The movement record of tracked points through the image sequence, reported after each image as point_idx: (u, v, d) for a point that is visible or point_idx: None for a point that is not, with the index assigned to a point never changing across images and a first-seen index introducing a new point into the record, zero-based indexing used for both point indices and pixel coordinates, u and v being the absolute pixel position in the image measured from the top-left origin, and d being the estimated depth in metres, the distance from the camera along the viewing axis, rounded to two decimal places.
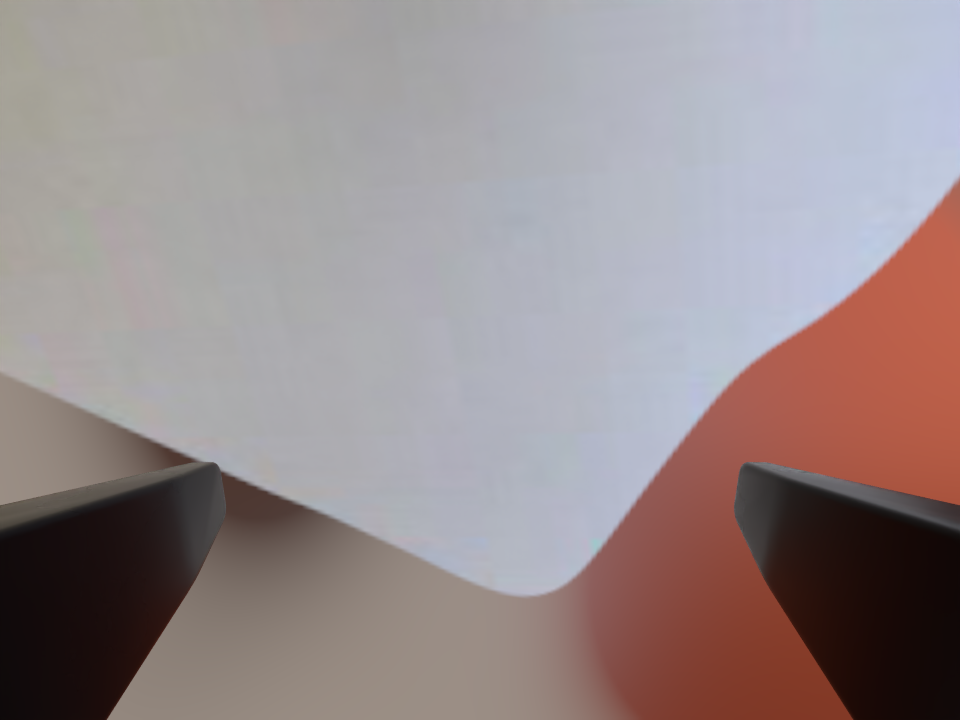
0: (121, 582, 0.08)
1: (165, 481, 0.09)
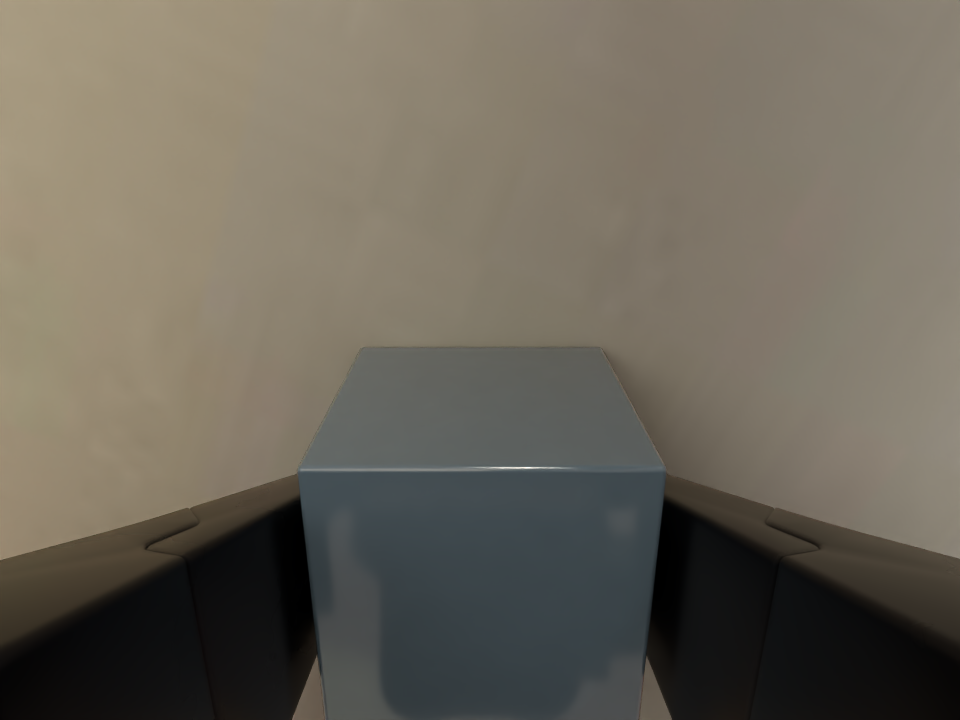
0: (303, 582, 0.08)
1: None
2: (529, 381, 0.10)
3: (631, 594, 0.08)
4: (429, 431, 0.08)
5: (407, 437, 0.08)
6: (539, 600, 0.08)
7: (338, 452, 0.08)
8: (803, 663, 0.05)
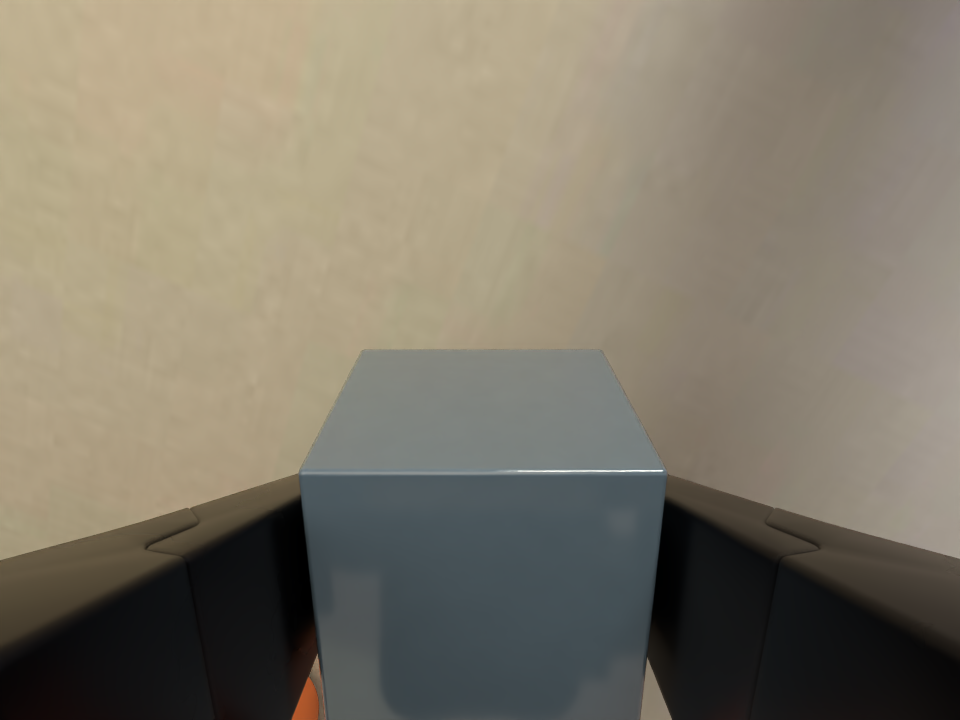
0: (303, 582, 0.08)
1: None
2: (530, 384, 0.10)
3: (632, 597, 0.08)
4: (429, 435, 0.08)
5: (408, 440, 0.08)
6: (539, 603, 0.08)
7: (339, 456, 0.08)
8: (803, 663, 0.05)
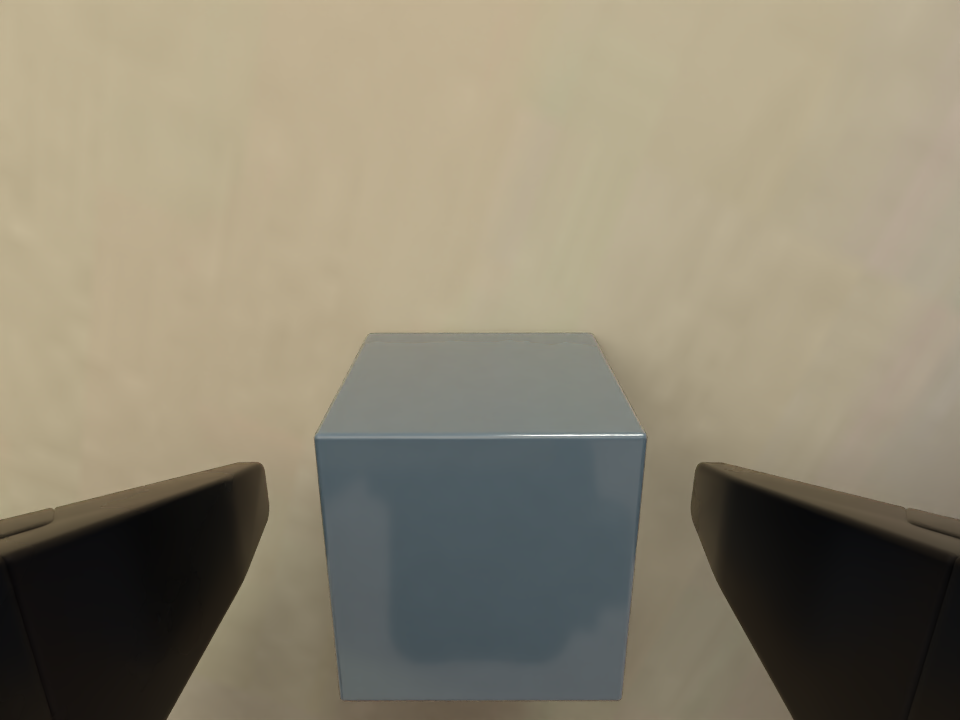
0: (180, 582, 0.08)
1: (218, 481, 0.09)
2: (525, 363, 0.11)
3: (616, 551, 0.09)
4: (432, 405, 0.09)
5: (412, 410, 0.09)
6: (532, 557, 0.09)
7: (351, 422, 0.09)
8: None
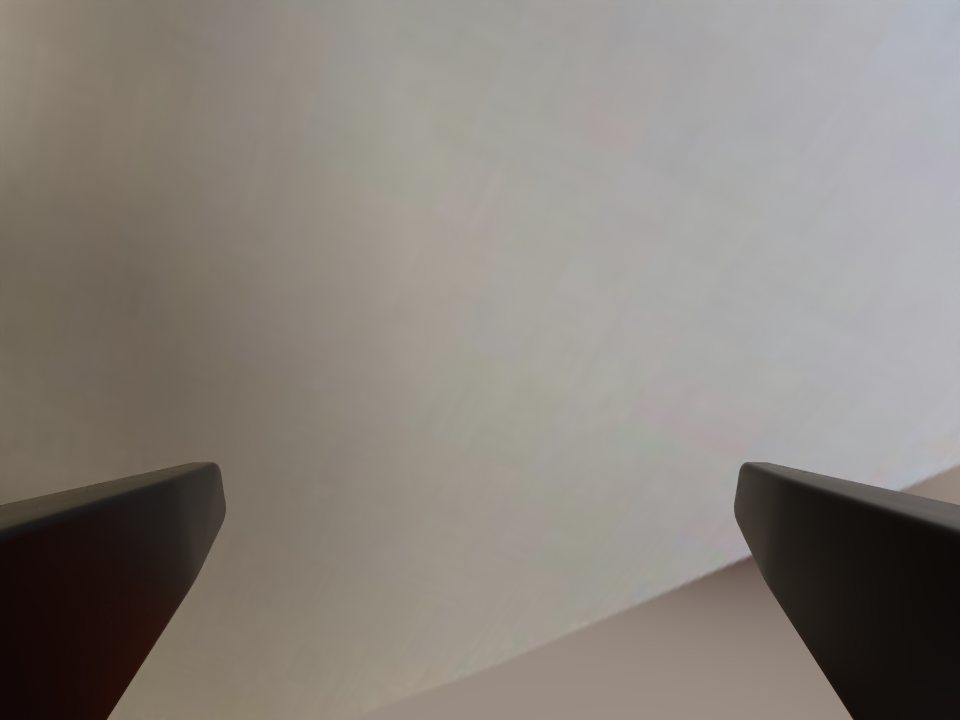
0: (121, 582, 0.08)
1: (165, 481, 0.09)
2: None
3: None
4: None
5: None
6: None
7: None
8: None
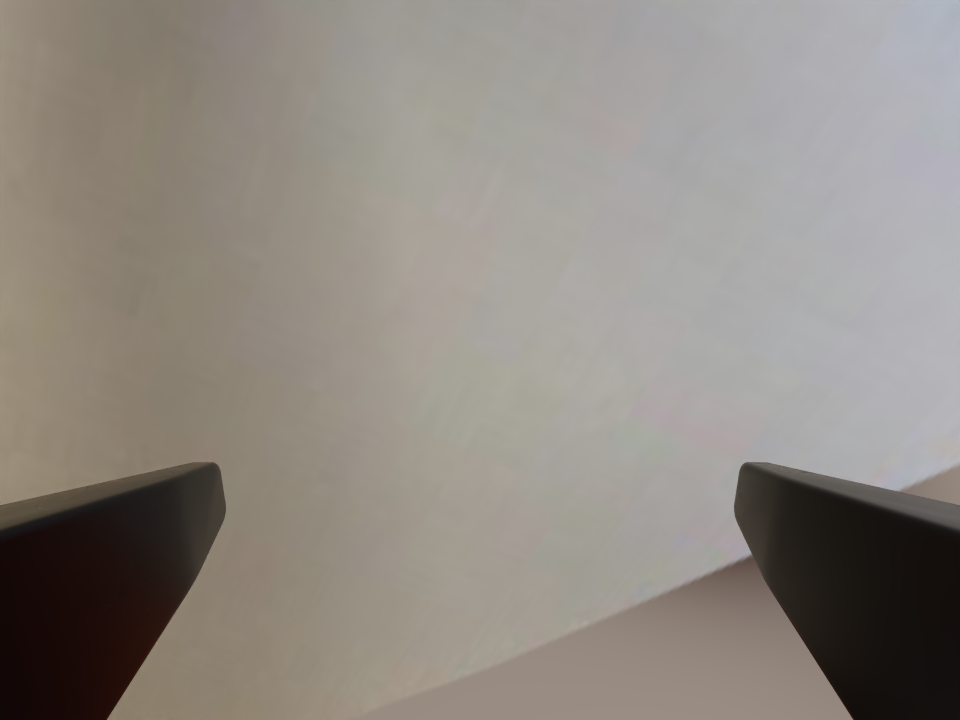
0: (121, 582, 0.08)
1: (165, 481, 0.09)
2: None
3: None
4: None
5: None
6: None
7: None
8: None
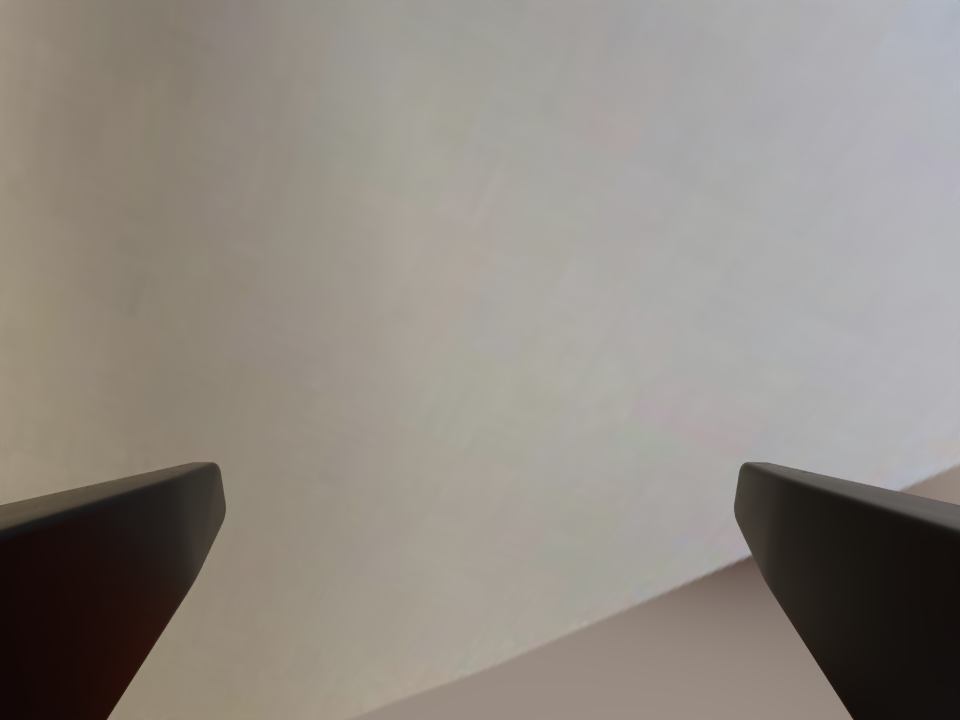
0: (121, 582, 0.08)
1: (165, 481, 0.09)
2: None
3: None
4: None
5: None
6: None
7: None
8: None
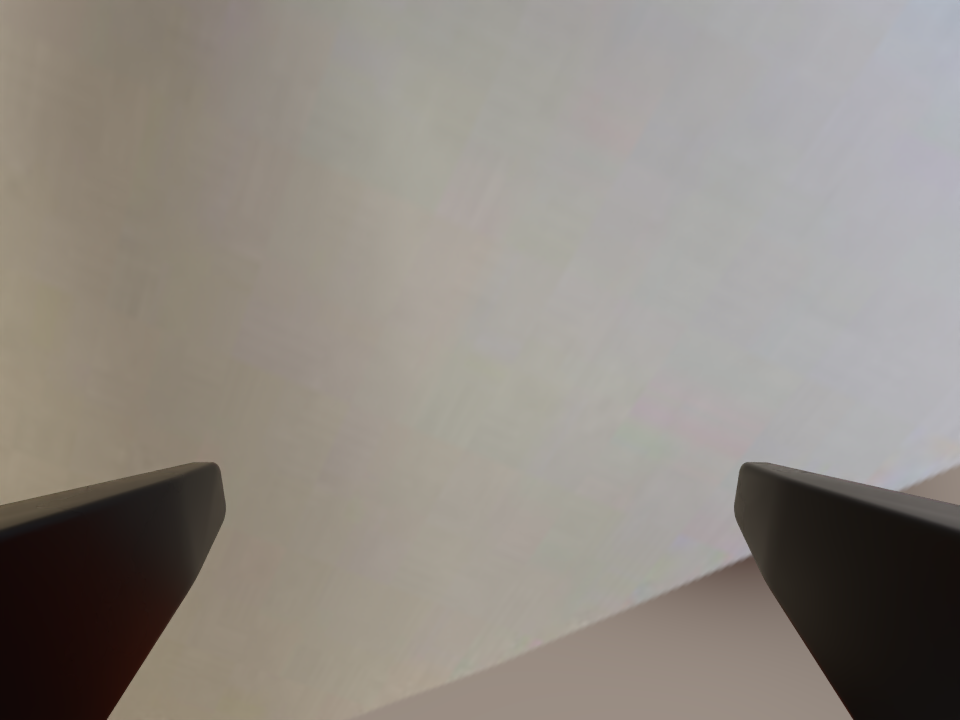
0: (121, 582, 0.08)
1: (165, 481, 0.09)
2: None
3: None
4: None
5: None
6: None
7: None
8: None
